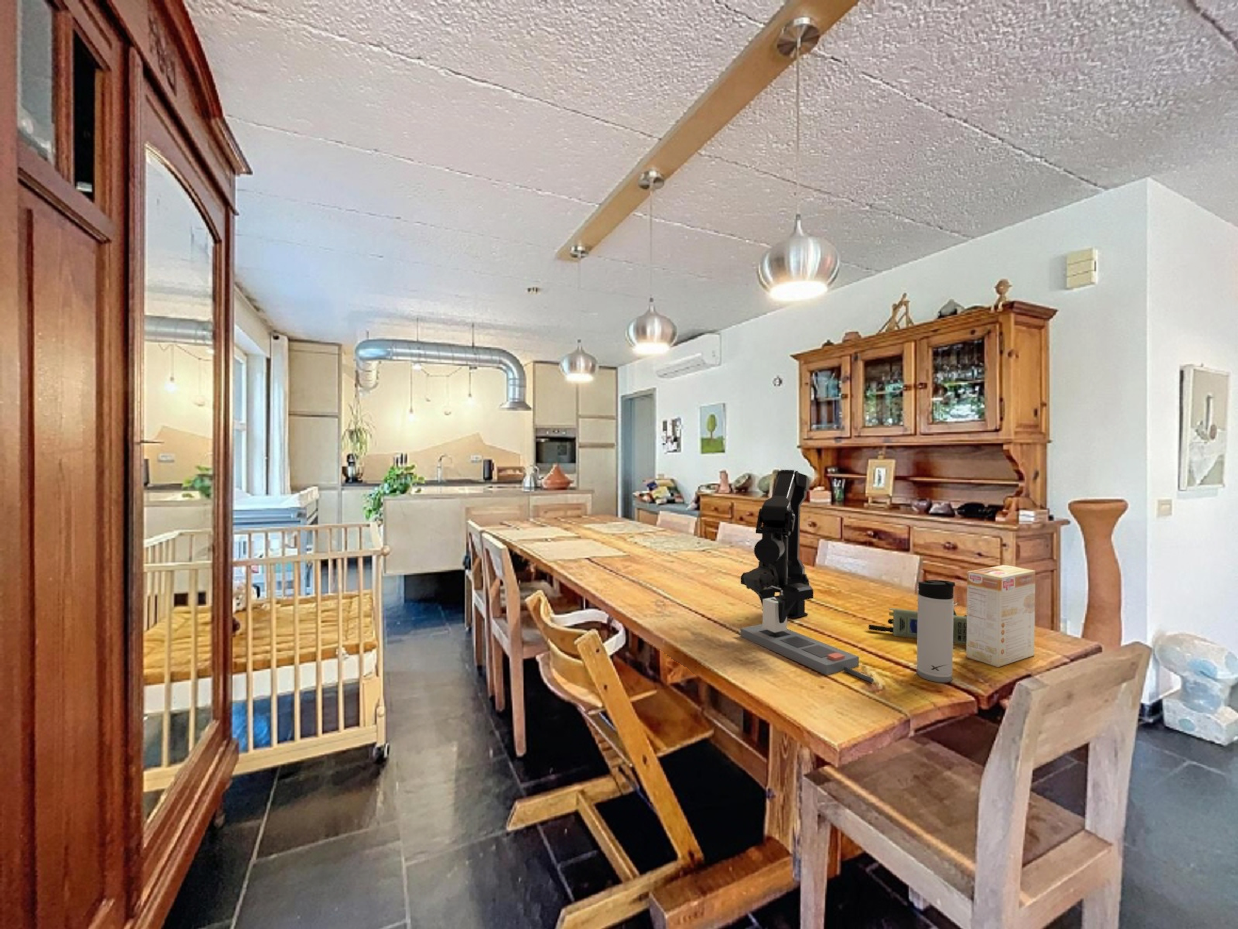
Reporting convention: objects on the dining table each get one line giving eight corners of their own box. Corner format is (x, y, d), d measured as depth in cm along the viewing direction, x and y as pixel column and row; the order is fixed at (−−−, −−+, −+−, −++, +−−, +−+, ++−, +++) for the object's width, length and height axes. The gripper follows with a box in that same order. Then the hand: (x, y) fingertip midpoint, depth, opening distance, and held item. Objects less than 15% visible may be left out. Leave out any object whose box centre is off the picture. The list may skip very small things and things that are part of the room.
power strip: (740, 636, 131) (740, 625, 131) (770, 630, 136) (770, 620, 136) (856, 688, 102) (856, 675, 102) (889, 678, 107) (889, 665, 107)
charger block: (762, 627, 128) (762, 598, 128) (774, 625, 130) (774, 596, 130) (774, 632, 125) (774, 602, 125) (786, 630, 127) (787, 600, 126)
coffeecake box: (1001, 645, 125) (1002, 564, 125) (1036, 656, 119) (1037, 570, 118) (963, 656, 118) (965, 570, 118) (998, 668, 112) (1000, 577, 112)
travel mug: (942, 686, 103) (943, 584, 103) (910, 673, 109) (911, 577, 108) (960, 680, 106) (962, 581, 105) (928, 668, 112) (930, 574, 111)
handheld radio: (986, 649, 123) (868, 634, 134) (983, 645, 126) (868, 630, 137) (986, 620, 124) (868, 607, 134) (983, 617, 127) (868, 604, 137)
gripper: (724, 552, 131) (723, 614, 132) (779, 567, 115) (779, 637, 115) (757, 549, 137) (757, 608, 137) (815, 562, 120) (814, 629, 121)
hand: (774, 620), depth 127 cm, fingers closed on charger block, 4 cm apart
